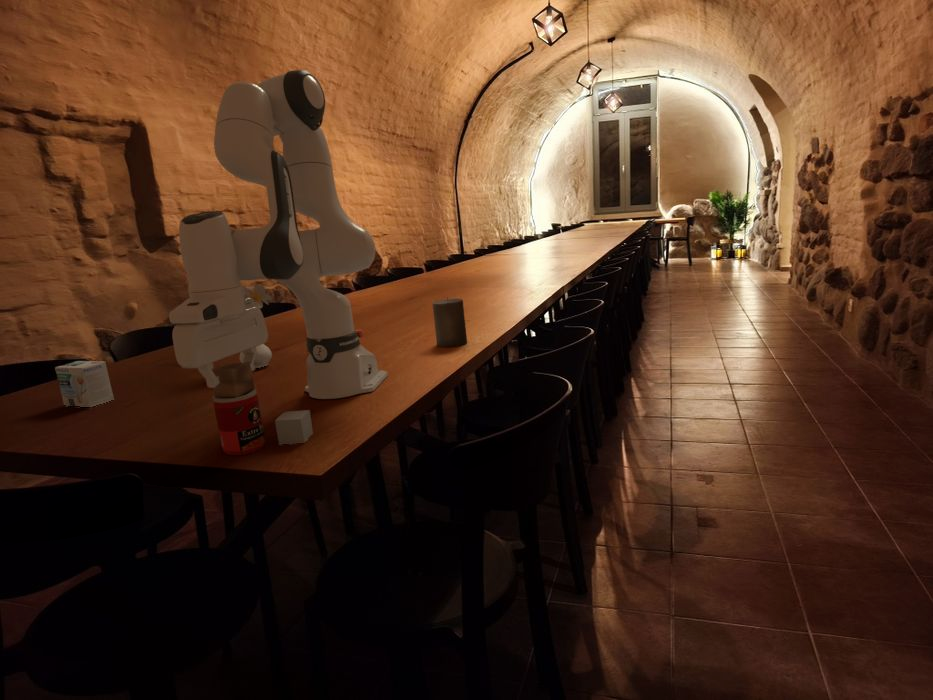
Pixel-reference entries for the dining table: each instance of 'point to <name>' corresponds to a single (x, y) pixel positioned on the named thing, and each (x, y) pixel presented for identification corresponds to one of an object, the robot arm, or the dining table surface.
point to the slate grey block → (294, 427)
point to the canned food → (239, 423)
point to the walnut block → (233, 379)
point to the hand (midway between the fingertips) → (232, 378)
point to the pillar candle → (449, 322)
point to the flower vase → (259, 295)
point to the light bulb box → (84, 383)
